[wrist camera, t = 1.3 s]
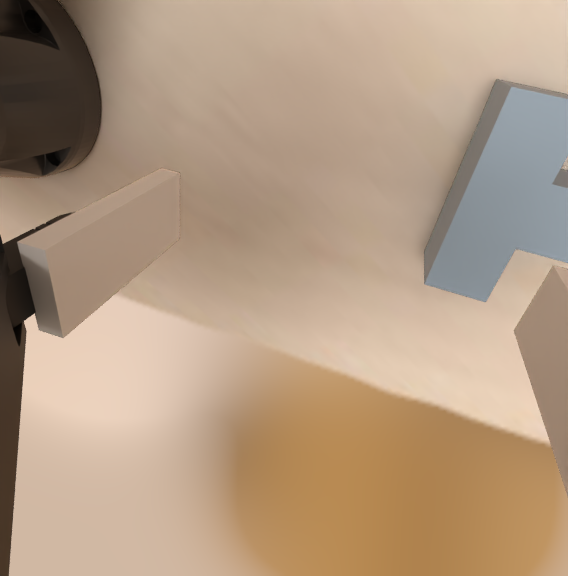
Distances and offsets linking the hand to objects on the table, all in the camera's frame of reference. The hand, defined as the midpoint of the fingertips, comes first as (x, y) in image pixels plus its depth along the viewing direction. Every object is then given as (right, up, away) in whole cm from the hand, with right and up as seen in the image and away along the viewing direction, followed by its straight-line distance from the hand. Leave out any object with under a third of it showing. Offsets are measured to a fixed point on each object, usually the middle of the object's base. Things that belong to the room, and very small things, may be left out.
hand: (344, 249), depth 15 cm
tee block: (+15, +5, +12) cm, 20 cm away
